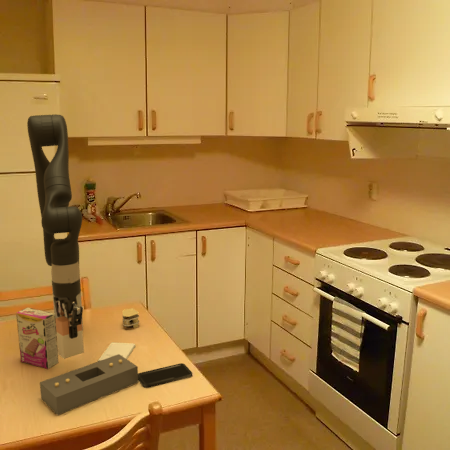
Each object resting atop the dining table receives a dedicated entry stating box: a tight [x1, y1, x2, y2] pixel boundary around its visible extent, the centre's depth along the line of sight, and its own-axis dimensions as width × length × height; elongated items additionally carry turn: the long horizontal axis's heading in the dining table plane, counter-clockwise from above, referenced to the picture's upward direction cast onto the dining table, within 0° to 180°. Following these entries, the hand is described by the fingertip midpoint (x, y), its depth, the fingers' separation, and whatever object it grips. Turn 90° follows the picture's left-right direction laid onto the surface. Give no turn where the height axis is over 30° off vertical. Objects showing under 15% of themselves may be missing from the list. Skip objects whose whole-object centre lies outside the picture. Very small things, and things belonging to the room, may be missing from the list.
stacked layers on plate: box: [121, 307, 140, 329], centre depth 184 cm, size 10×9×6 cm
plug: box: [55, 314, 85, 360], centre depth 148 cm, size 4×6×11 cm, turn 132°
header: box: [39, 354, 139, 416], centre depth 142 cm, size 10×24×6 cm, turn 132°
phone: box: [138, 362, 193, 389], centre depth 150 cm, size 8×1×15 cm
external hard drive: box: [97, 342, 136, 362], centre depth 163 cm, size 2×8×12 cm
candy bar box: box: [15, 307, 59, 370], centre depth 156 cm, size 11×5×16 cm, turn 65°
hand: (69, 334), depth 148 cm, fingers closed on plug, 4 cm apart
